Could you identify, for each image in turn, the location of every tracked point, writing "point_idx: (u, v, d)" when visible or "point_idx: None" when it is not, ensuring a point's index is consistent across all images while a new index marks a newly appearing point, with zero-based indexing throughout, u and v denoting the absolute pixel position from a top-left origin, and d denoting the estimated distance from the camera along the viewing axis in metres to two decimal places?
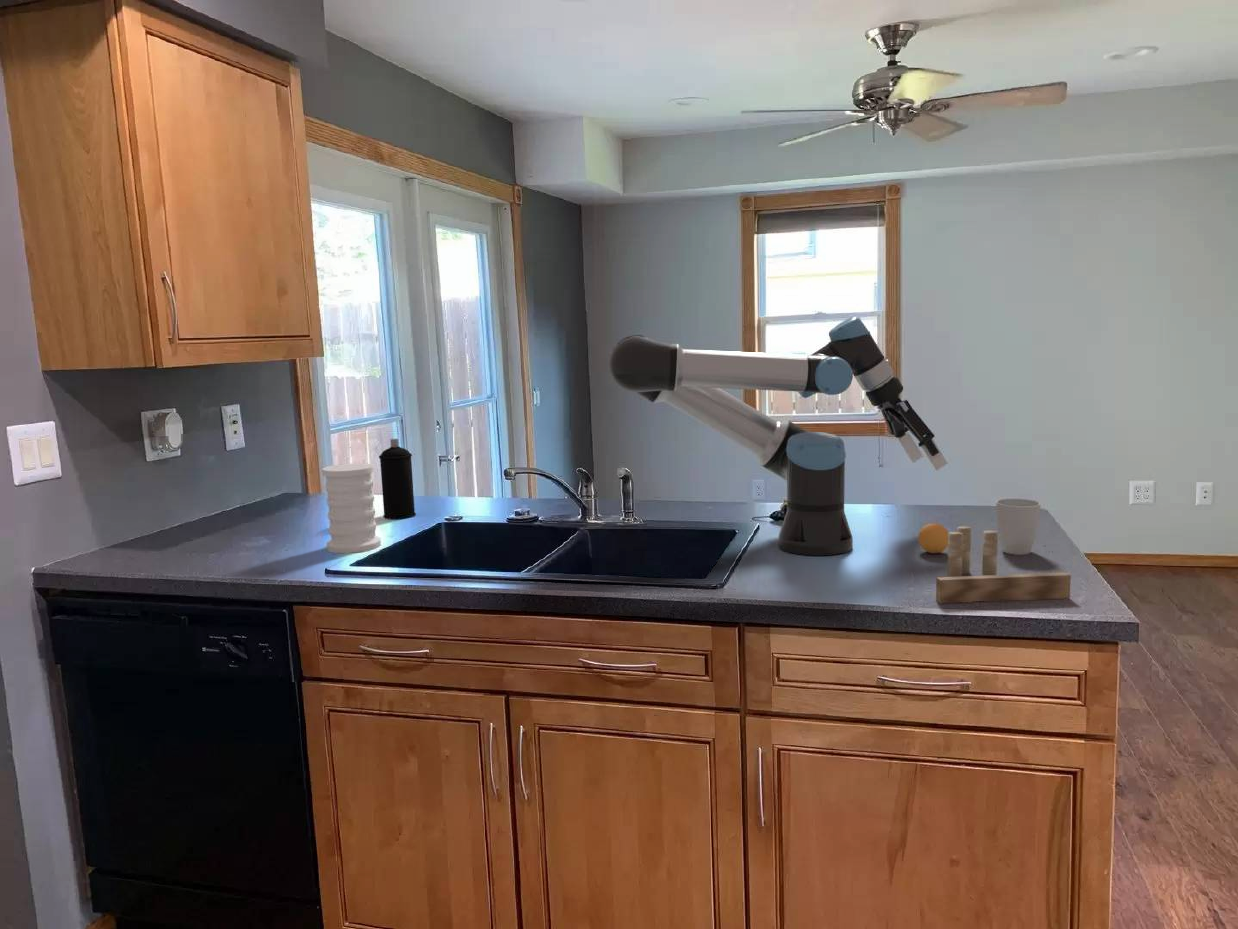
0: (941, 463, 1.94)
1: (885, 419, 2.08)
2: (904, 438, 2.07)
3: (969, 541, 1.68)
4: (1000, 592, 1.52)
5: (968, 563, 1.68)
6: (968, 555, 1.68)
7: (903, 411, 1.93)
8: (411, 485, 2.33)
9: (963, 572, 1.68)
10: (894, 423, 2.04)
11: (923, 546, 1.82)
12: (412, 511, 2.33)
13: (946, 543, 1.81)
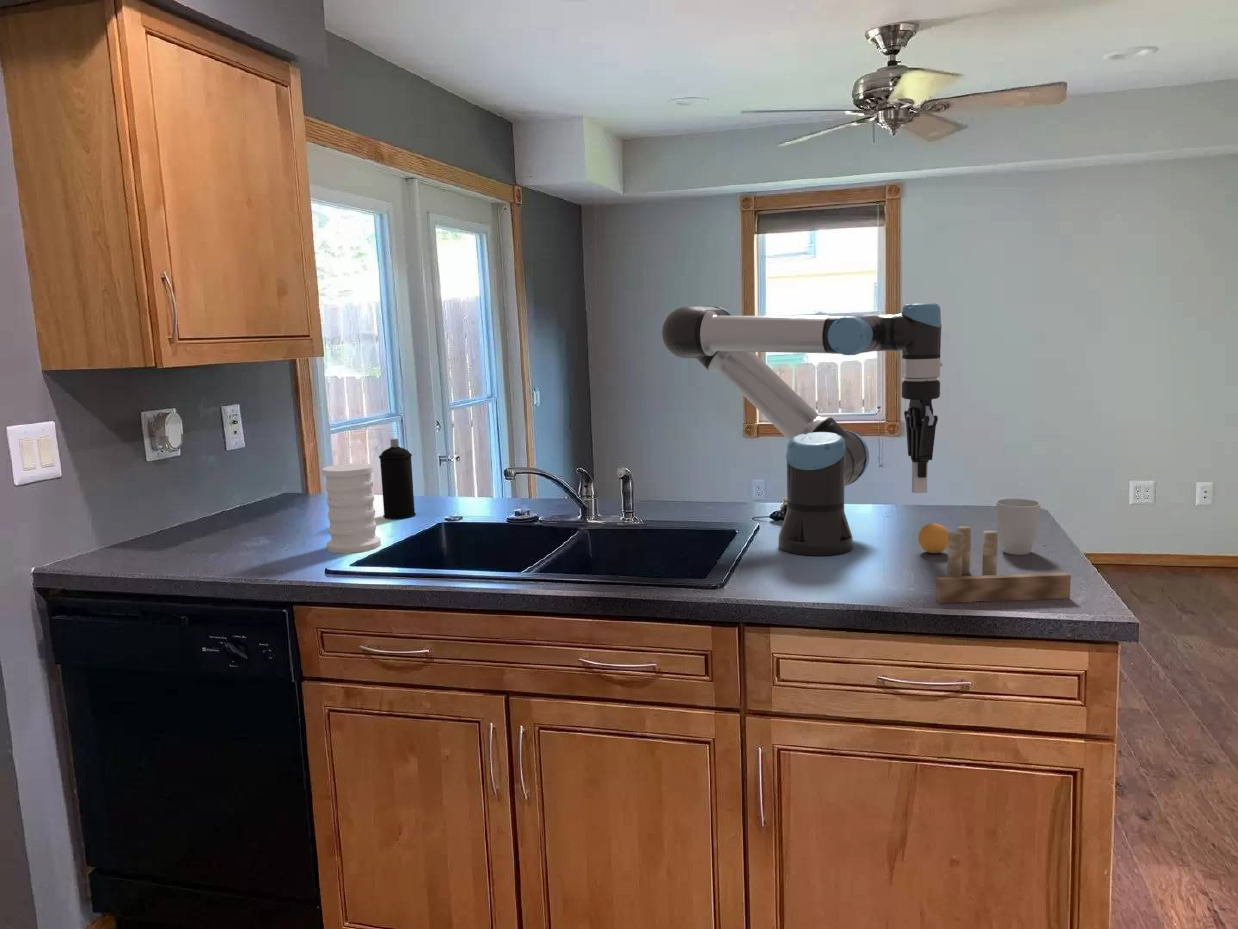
0: (921, 489, 1.90)
1: (907, 433, 1.94)
2: None
3: (969, 541, 1.68)
4: (1000, 592, 1.52)
5: (968, 563, 1.68)
6: (968, 555, 1.68)
7: (926, 425, 1.83)
8: (411, 485, 2.33)
9: (963, 572, 1.68)
10: (914, 433, 1.90)
11: (923, 546, 1.82)
12: (412, 511, 2.33)
13: (946, 543, 1.81)
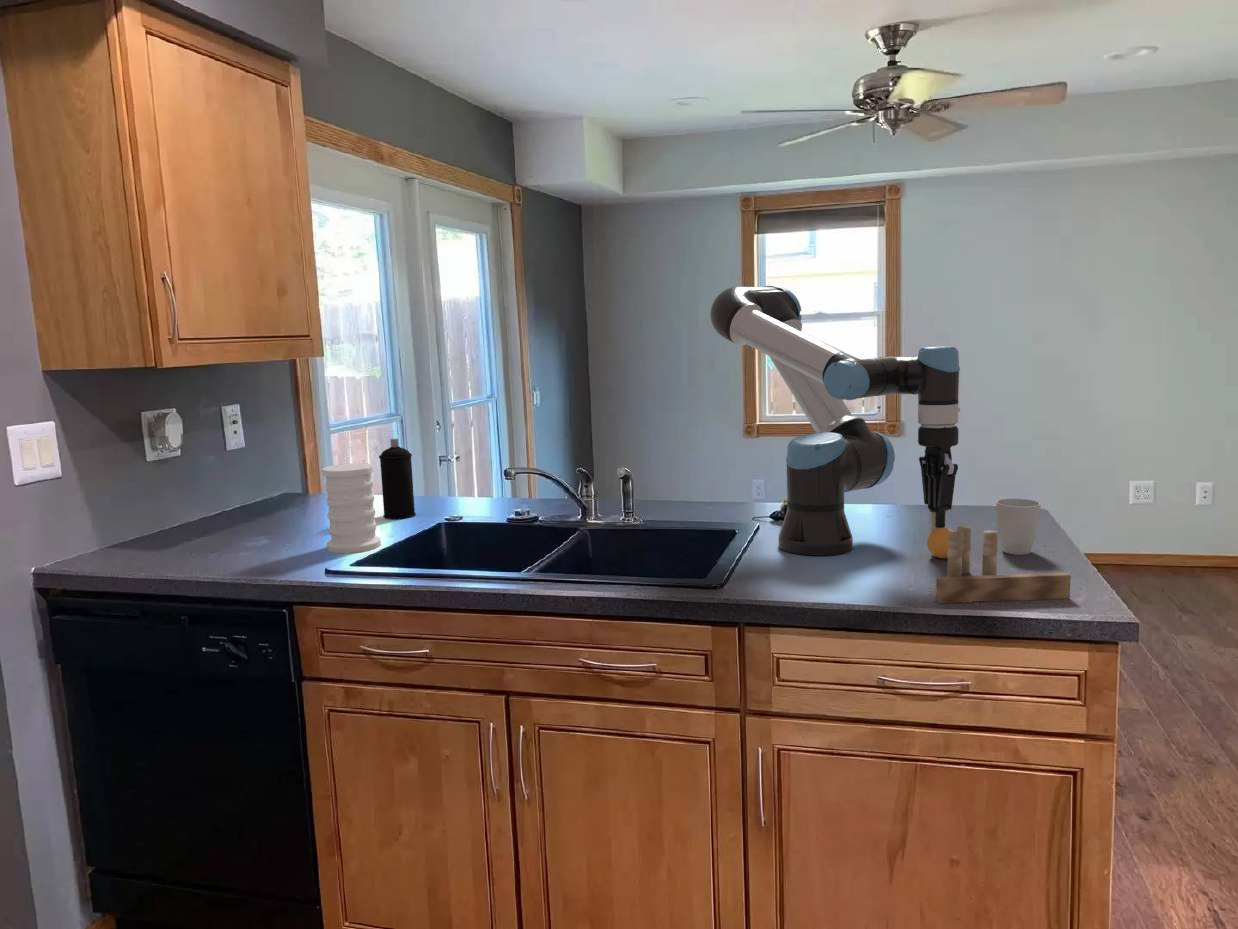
0: None
1: (923, 480, 1.85)
2: None
3: (969, 541, 1.68)
4: (1000, 592, 1.52)
5: (968, 563, 1.68)
6: (968, 555, 1.68)
7: (946, 474, 1.75)
8: (411, 485, 2.33)
9: (963, 572, 1.68)
10: (931, 481, 1.82)
11: None
12: (412, 511, 2.33)
13: None
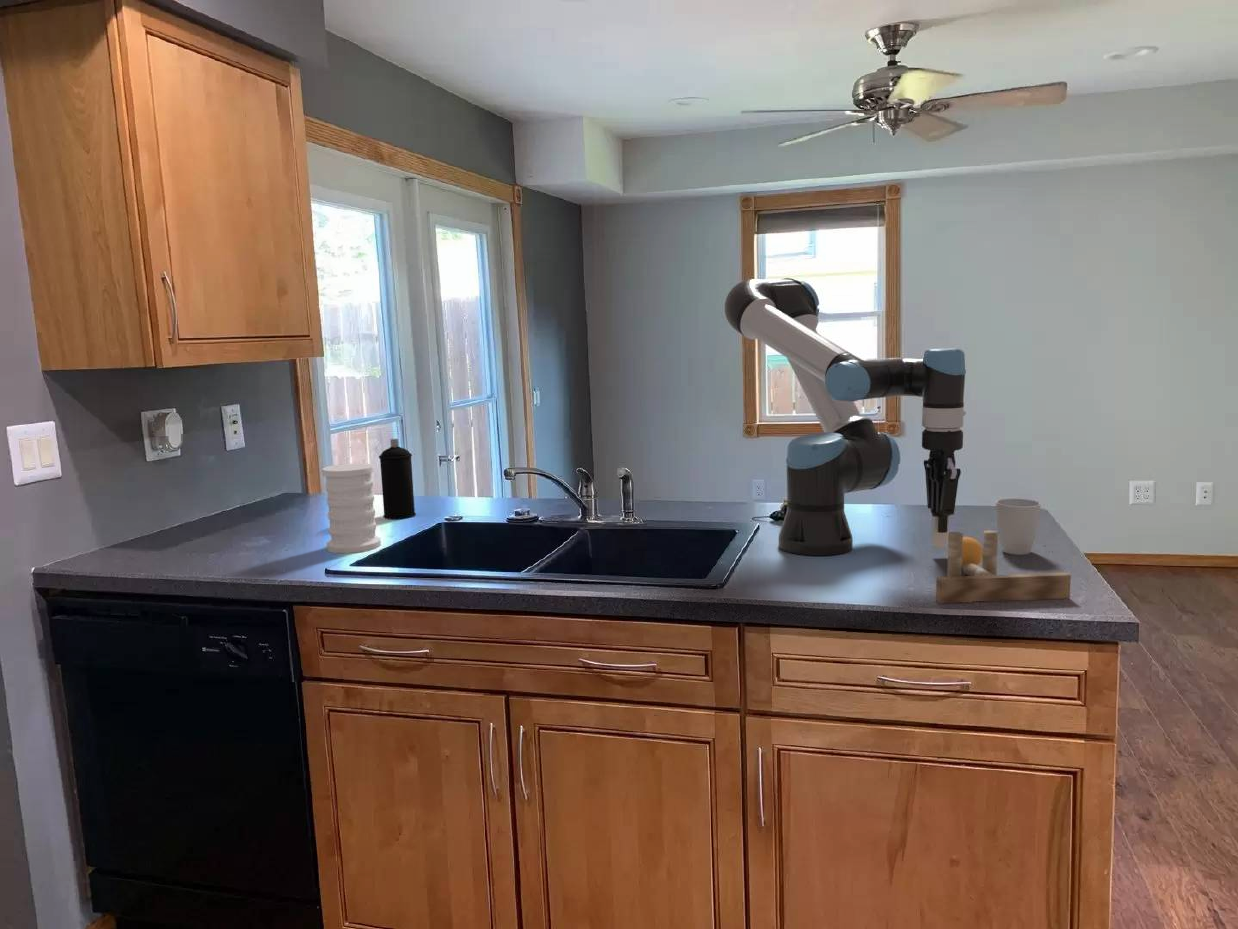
0: (942, 544, 1.80)
1: (926, 484, 1.83)
2: None
3: None
4: (1000, 592, 1.52)
5: None
6: None
7: (948, 478, 1.73)
8: (411, 485, 2.33)
9: (965, 573, 1.68)
10: (935, 485, 1.79)
11: None
12: (412, 511, 2.33)
13: None
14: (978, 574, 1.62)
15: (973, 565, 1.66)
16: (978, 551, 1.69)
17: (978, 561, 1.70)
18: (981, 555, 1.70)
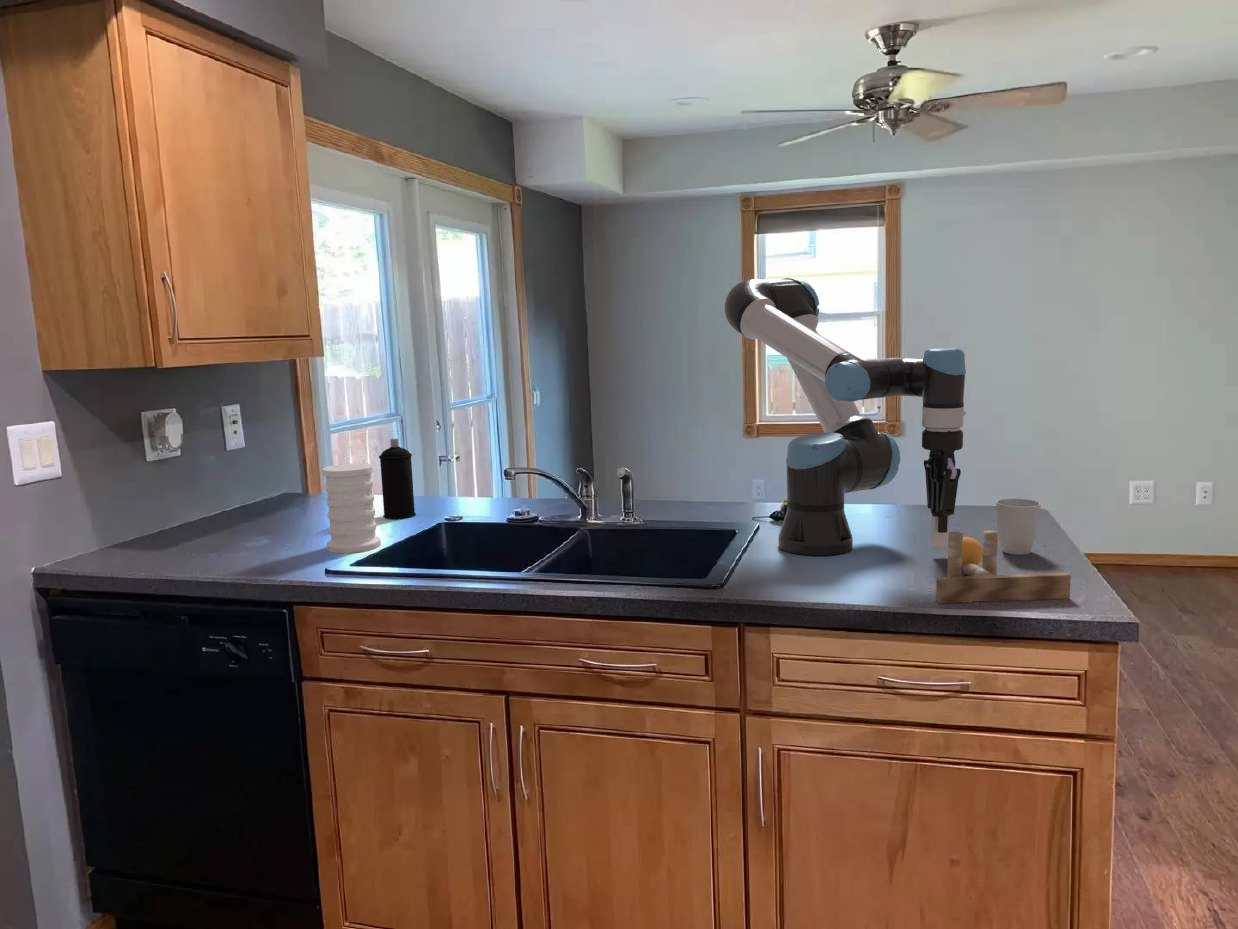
0: (942, 544, 1.80)
1: (926, 484, 1.83)
2: None
3: None
4: (1000, 592, 1.52)
5: None
6: None
7: (948, 478, 1.73)
8: (411, 485, 2.33)
9: (965, 573, 1.68)
10: (935, 485, 1.79)
11: None
12: (412, 511, 2.33)
13: None
14: (978, 574, 1.62)
15: (973, 565, 1.66)
16: (978, 551, 1.69)
17: (978, 561, 1.70)
18: (981, 555, 1.70)
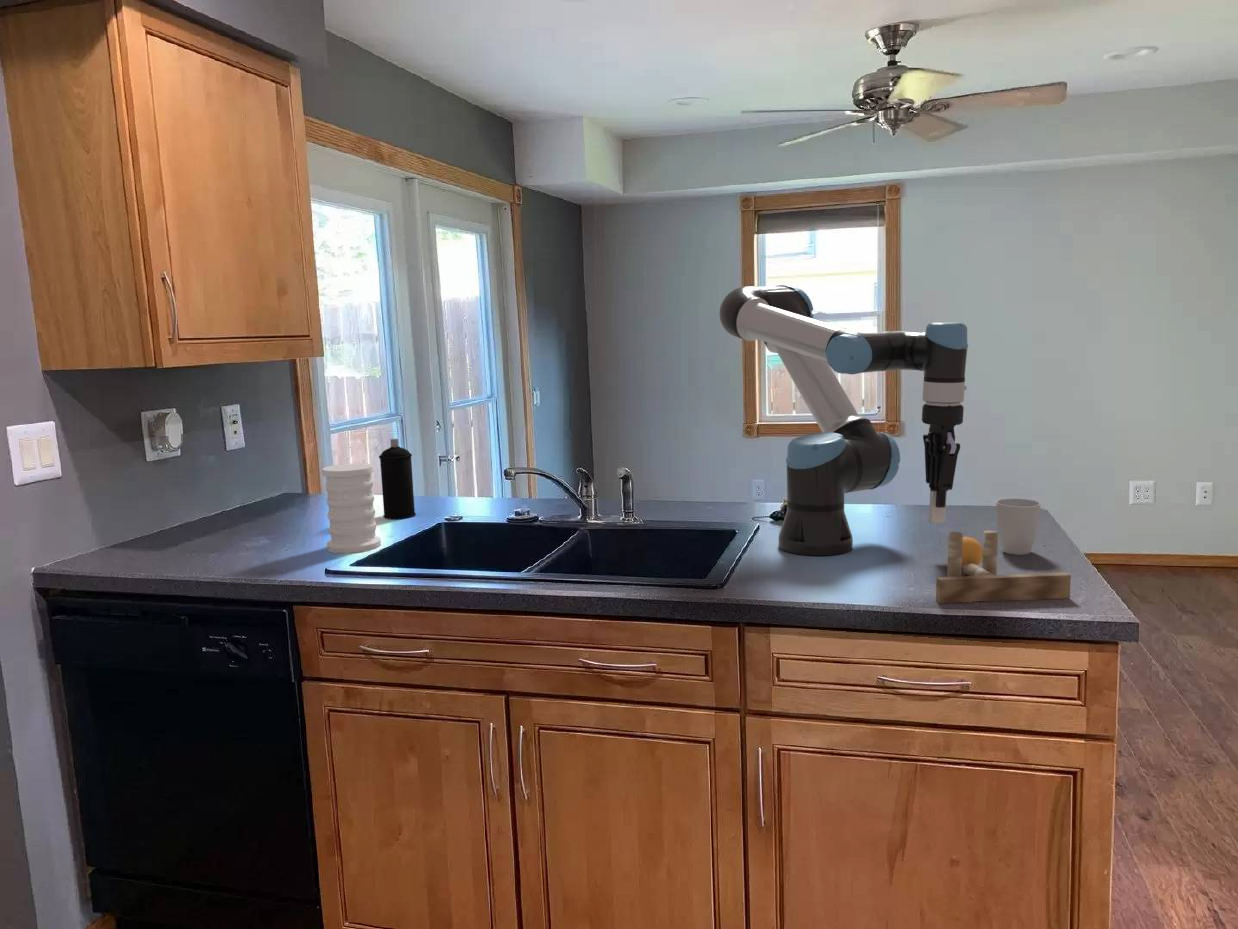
0: (939, 519, 1.79)
1: (925, 458, 1.82)
2: None
3: None
4: (1000, 592, 1.52)
5: None
6: None
7: (948, 453, 1.72)
8: (411, 485, 2.33)
9: (965, 573, 1.68)
10: (934, 459, 1.79)
11: None
12: (412, 511, 2.33)
13: None
14: (978, 574, 1.62)
15: (973, 565, 1.66)
16: (978, 551, 1.69)
17: (978, 561, 1.70)
18: (981, 555, 1.70)
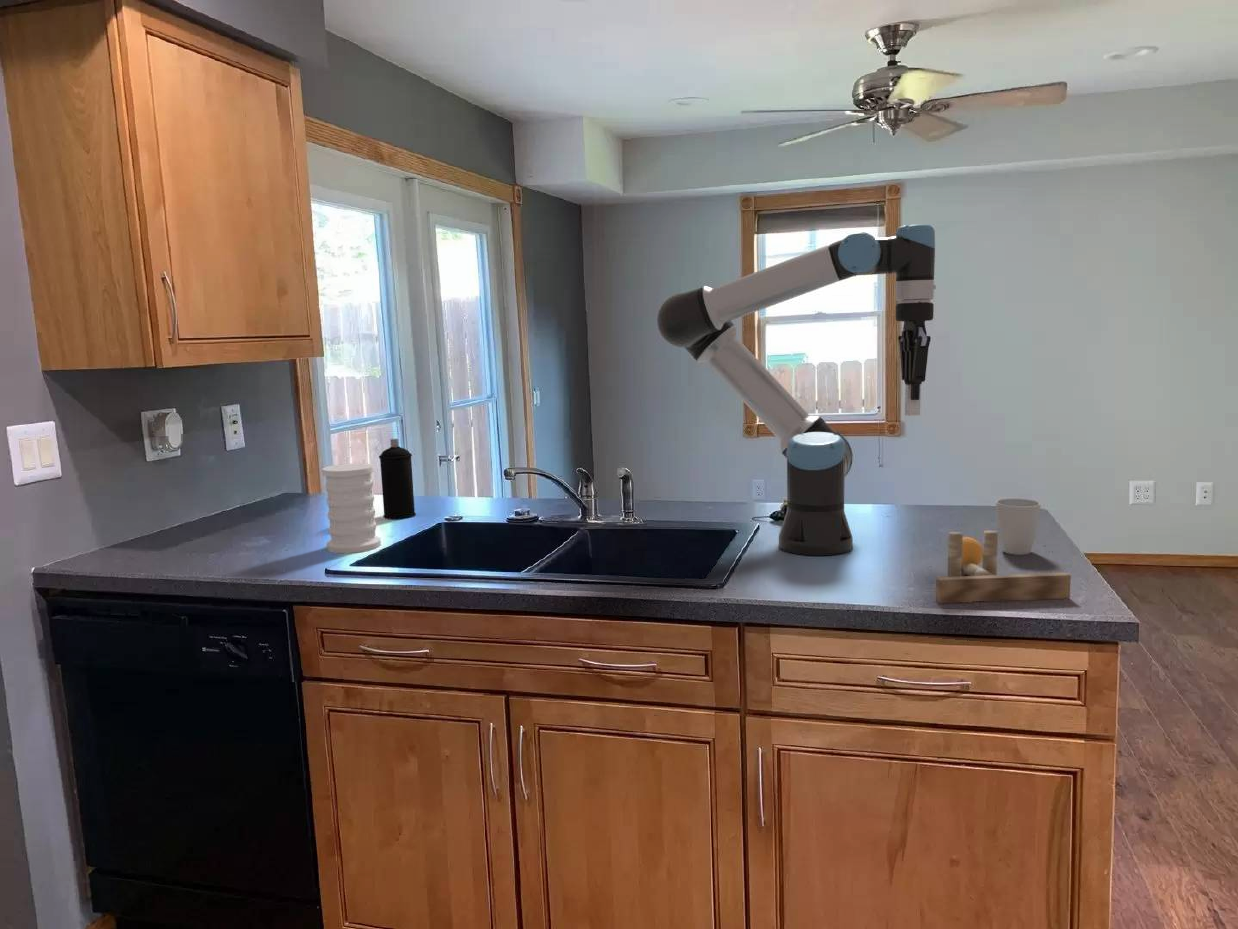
0: (914, 411, 1.92)
1: (901, 357, 1.95)
2: None
3: None
4: (1000, 592, 1.52)
5: None
6: None
7: (919, 345, 1.85)
8: (411, 485, 2.33)
9: (965, 573, 1.68)
10: (908, 355, 1.92)
11: None
12: (412, 511, 2.33)
13: None
14: (978, 574, 1.62)
15: (973, 565, 1.66)
16: (978, 551, 1.69)
17: (978, 561, 1.70)
18: (981, 555, 1.70)
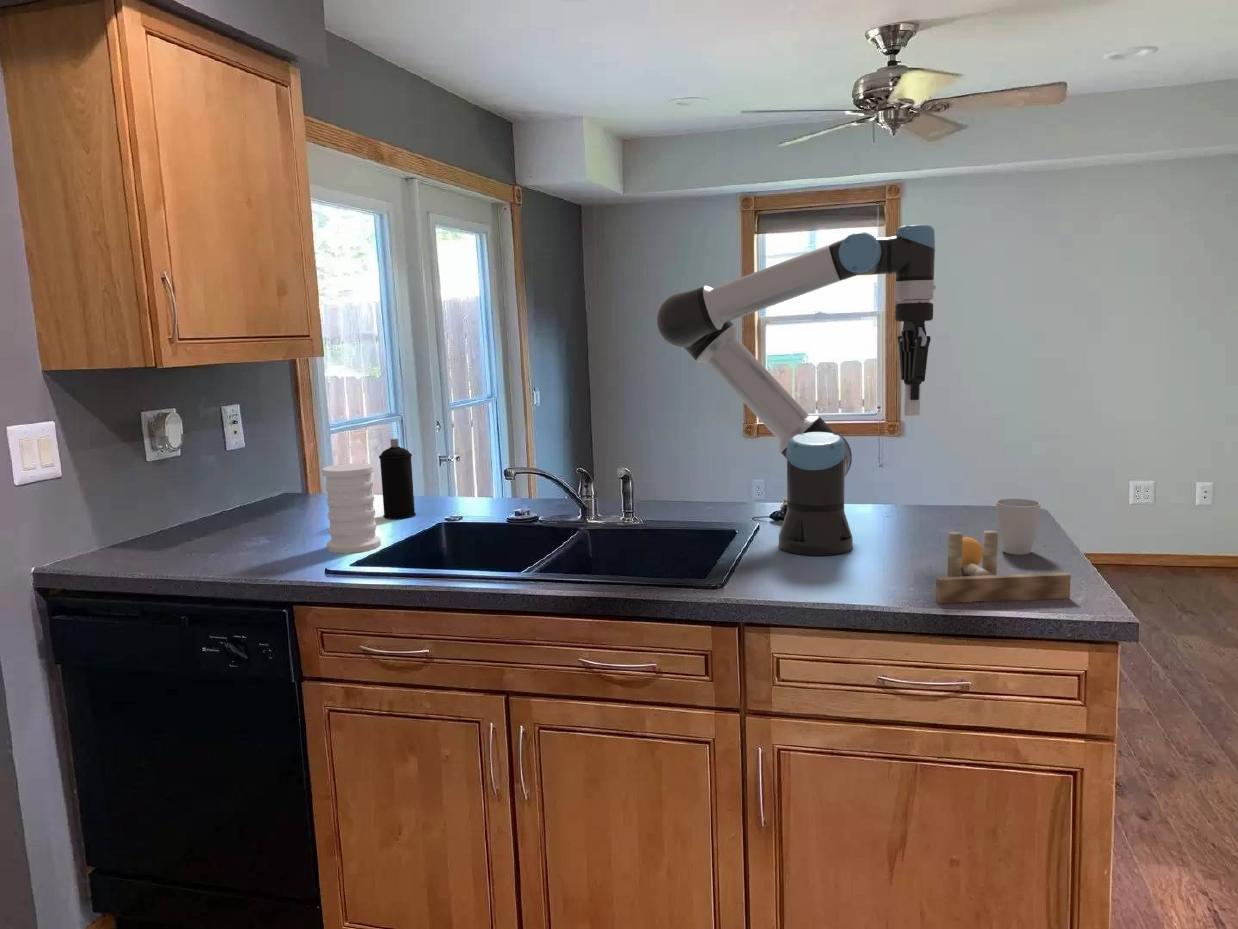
0: (914, 411, 1.93)
1: (900, 357, 1.96)
2: None
3: None
4: (1000, 592, 1.52)
5: None
6: None
7: (919, 345, 1.86)
8: (411, 485, 2.33)
9: (965, 573, 1.68)
10: (907, 356, 1.92)
11: None
12: (412, 511, 2.33)
13: None
14: (978, 574, 1.62)
15: (973, 565, 1.66)
16: (978, 551, 1.69)
17: (978, 561, 1.70)
18: (981, 555, 1.70)
